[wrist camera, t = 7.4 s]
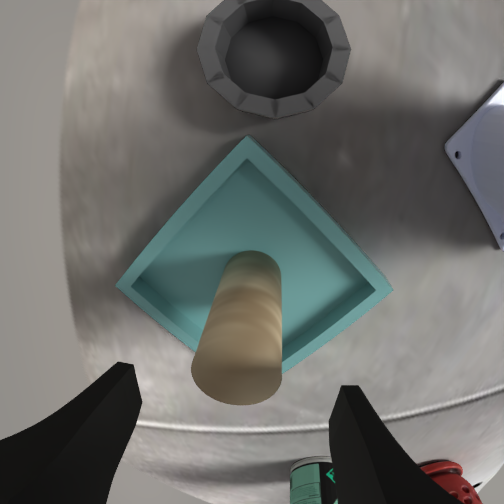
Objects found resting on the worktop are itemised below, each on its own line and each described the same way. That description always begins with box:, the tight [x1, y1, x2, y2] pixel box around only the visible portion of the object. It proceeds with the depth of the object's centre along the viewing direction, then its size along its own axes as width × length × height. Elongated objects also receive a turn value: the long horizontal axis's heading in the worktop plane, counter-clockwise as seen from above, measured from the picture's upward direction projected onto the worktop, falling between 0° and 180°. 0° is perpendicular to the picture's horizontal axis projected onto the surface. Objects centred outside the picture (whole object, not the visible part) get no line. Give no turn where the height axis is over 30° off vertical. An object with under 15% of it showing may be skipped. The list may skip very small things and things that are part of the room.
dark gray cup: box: [197, 0, 351, 119], centre depth 14 cm, size 7×7×4 cm
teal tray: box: [115, 135, 393, 374], centre depth 19 cm, size 12×12×2 cm
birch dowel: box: [191, 250, 282, 405], centre depth 16 cm, size 4×4×8 cm
